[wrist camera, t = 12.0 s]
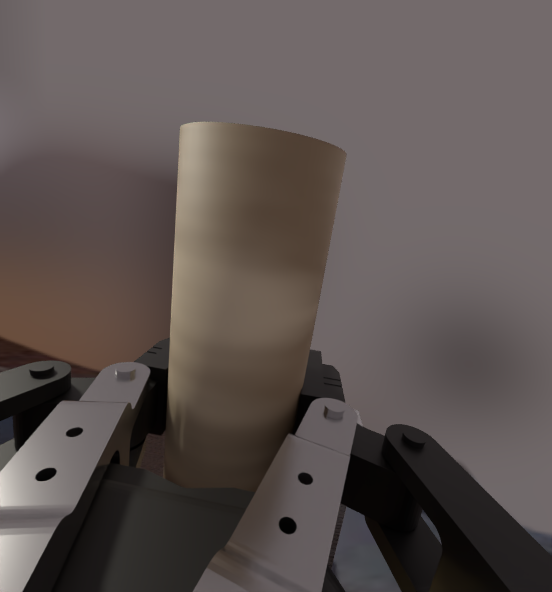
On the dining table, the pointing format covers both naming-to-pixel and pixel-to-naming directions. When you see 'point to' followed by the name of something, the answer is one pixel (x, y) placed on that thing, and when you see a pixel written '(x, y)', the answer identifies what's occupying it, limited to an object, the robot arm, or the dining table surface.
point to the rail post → (243, 295)
